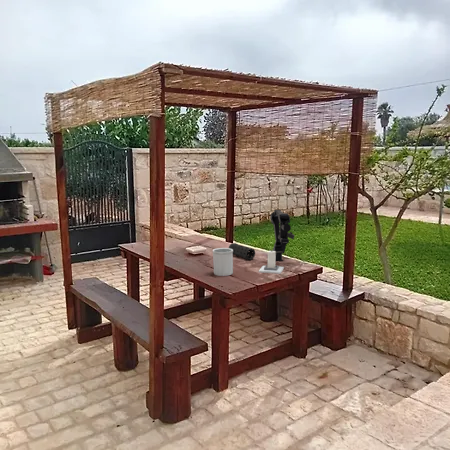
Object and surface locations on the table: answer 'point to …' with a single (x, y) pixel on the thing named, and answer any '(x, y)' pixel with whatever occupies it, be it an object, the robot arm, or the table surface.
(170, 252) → the table surface
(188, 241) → the table surface
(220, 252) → the utensil holder
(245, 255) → the muzzle brake
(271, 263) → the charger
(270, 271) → the dock plate
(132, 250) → the table surface
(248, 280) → the table surface
